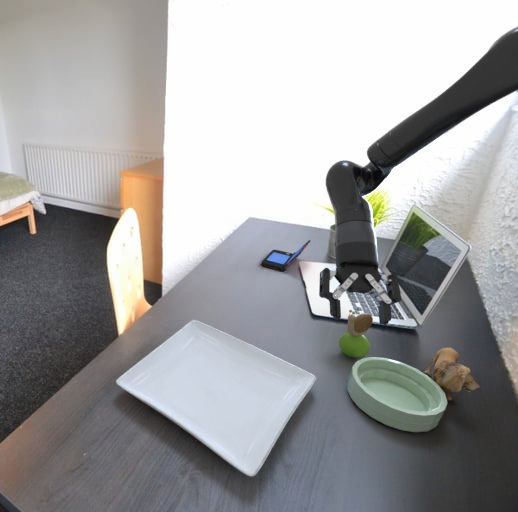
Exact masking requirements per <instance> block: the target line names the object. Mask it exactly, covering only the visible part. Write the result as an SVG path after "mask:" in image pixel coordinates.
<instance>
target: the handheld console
mask: <svg viewBox="0 0 518 512" xmlns="http://www.w3.org/2000/svg"><path fill="white" fill-rule="evenodd" d="M310 243H311V239H309V240H307V242H305V243H304V244H303V245H302V246H301V247H300V248H299V249H298V250H297V251H296V252H293V253H292V252H287V251H283V250H280V249H272V250H271V251H270V252H269V253H268V254H266V256H265V257H264V258H263V260H262V261H261V262H260V265H261V266H263V267H267V268H271V269H274V270H278V271H282V272H285V271H287V269H288V267H289V266H290V264H291V263H293V262H294V261H295V260H296V259H297V258H298V257H299V256H300V255H301V254H302V253H303V252H304V250H305V249H306V248H307V247H308V246H309V244H310Z"/></svg>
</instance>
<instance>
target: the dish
mask: <svg viewBox="0 0 518 512" xmlns="http://www.w3.org/2000/svg"><path fill="white" fill-rule="evenodd" d="M431 378H432V377H431V376H428V375H426V374H424V372H423V371H421V370H419V369H418V368H416V367H413V366H411V365H409V364H406V363H404V362H401V361H398V360H394V359H391V358H386V357H380V356H379V357H378V356H371V357H364V358H363V357H362V358H361V359H359V360H356V361H355V362H354V364H353V365H352V367H351V370H350V372H349V376H348V379H347V381H346V383H347V386H346V390H347V392H348V394H349V397H350V399H352V401H353V402H354V404H355V405H356V406H357V407H358V409H360V410H361V411H363V412H364V413H366V414H367V415H368V416H369V417H371V418H372V419H374V420H376V421H377V422H380V423H381V424H384V425H386V426H388V427H391V428H393V429H397V430H400V431H405V432H411V433H423V432H430V431H431V430H432V429H435V428H436V427H437V426H438V424H439V423H440V421H441V419H442V416H443V414H444V413H445V411H446V408H447V406H448V400H447V399H446V395H445V393H444V392H443V391H444V390H443V389H441V388H440V386H439V385H438V384H437V383H436V382H434V381H433V380H432V379H431Z"/></svg>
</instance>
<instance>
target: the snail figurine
mask: <svg viewBox="0 0 518 512" xmlns="http://www.w3.org/2000/svg"><path fill="white" fill-rule="evenodd" d="M348 312H349V315H348V316H347V324H346V325H347V326H346V329H347V331H346V332H344V333H343V334H342V335H341V336H340V337H339V340H338V346H339V349H340V351H341V352H342V353H343V354H344V355H346V356H347V357H348V358H349V357H350V358H354V359H358V358H363V357H365V356H366V355H367V354H368V353H369V351H370V347H371V344H370V341H369V339H368V338H367V336H365V335H364V334H366V333H367V332H368V330H369V329H370V328H371V326H372V324H373V322H374V321H373V316H372V315H371V314H370V313H367V312H365V313H364V312H363V313H360V314H358V315H357V316H355V314H356V311H354V310H352V309H349V310H348Z"/></svg>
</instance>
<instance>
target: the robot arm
mask: <svg viewBox="0 0 518 512" xmlns="http://www.w3.org/2000/svg"><path fill="white" fill-rule="evenodd" d="M515 92H517V93H518V26H516V27H513V28H511V29H510V30H508V31H506V32H504V33H503V34H502V35H500V36H499V38H498V39H496V40H495V41H494V42H493V43H492V45H491V46H490V47H489V49H488V50H487V52H486V53H484V54H483V56H481V57H480V59H478V60H477V61H476V63H474V64H473V65H472V66H471V67H470V68H469V69H468V70H467V71H466V72H465V73H464V74H463V75H462V76H461V77H459V79H457V80H456V81H455V82H454V83H452V84H451V85H450V86H449V87H448V88H447V89H445V90H444V91H443V92H441V93H440V94H439V95H438V96H436V97H435V98H434V99H433V100H431V101H430V102H428V103H427V104H425V105H424V106H422V107H421V108H420V109H418V110H416V111H415V112H413V113H412V114H410V115H408V116H407V117H406V118H405V119H403V120H402V121H400V122H399V123H397V124H395V125H394V126H393V127H392V128H391V129H390V130H388V131H387V132H386V133H384V134H383V135H382V136H380V137H379V138H378V139H377V140H375V141H374V142H373V143H372V144H370V145H369V147H367V150H366V157H367V158H368V160H369V162H368V163H367V164H366V165H364V166H363V165H360V164H358V163H357V162H354V161H351V160H345V159H344V160H338V161H336V162H334V163H333V164H332V165H331V166H330V168H329V169H328V171H327V172H326V176H325V188H326V192H327V196H328V198H329V202H330V204H331V206H332V208H333V211H334V226H335V232H334V243H333V244H334V245H333V246H334V250H335V251H334V252H335V267H336V269H335V270H332V269H331V270H330V268H329V267H325V268H323V269H322V270H321V271H320V272H319V289H318V296H319V297H320V298H321V299H325V300H328V301H329V314H330V317H332V318H333V320H340V319H341V318H342V312H341V311H342V310H341V309H342V307H341V300H340V297H341V296H342V295H343V294H344V293H345V292H348V293H358V294H362V295H365V294H367V295H368V296H369V297H370V298H371V299H374V301H375V302H377V304H378V306H377V311H378V320H379V324H380V325H387V324H389V323H390V322H391V321H392V309H391V305H395V304H397V303H400V302H401V301H402V295H401V287H400V283H399V277H398V274H397V273H395V272H392V273H390V274H386V273H385V274H384V273H381V272H380V271H379V255H378V254H379V253H378V245H377V235H376V231H375V227H374V217H373V208H372V205H371V203H370V202H369V201H368V200H367V199H365V198H364V197H367V196H369V195H370V194H372V193H374V192H375V191H376V190H377V189H378V188H379V187H380V186H381V185H382V184H383V183H384V181H386V180H387V179H388V178H389V177H390V175H392V173H393V172H394V171H395V170H396V169H397V168H399V167H400V166H401V165H403V164H404V163H406V162H407V161H409V160H410V159H412V158H414V157H415V156H416V155H418V154H419V153H421V152H423V151H424V150H425V149H427V148H428V147H429V146H431V145H432V144H433V143H434V142H437V141H438V140H439V139H440V138H442V137H443V136H444V135H446V134H447V133H448V132H450V131H452V130H453V129H454V128H456V127H457V126H459V125H460V124H461V123H462V122H464V121H466V120H468V119H469V118H470V117H472V116H474V115H475V114H477V113H478V112H480V111H482V110H484V109H485V108H487V107H489V106H490V105H492V104H494V103H496V102H498V101H500V100H502V99H503V98H505V97H508V96H509V95H511V94H513V93H515ZM333 278H335V279H336V281H337V282H338V283H339V284H338V286H337V287H336V288H335V289H334V290H333V292H332V291H330V289H331V288H330V284H331V280H333ZM380 281H381V282H382V284H383V285H385V289H386V292H385V289H384V288H383V287H382V286H381V285H380V284H379V283H380Z"/></svg>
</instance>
